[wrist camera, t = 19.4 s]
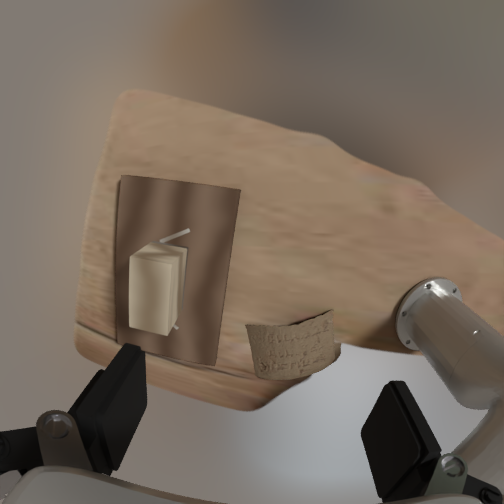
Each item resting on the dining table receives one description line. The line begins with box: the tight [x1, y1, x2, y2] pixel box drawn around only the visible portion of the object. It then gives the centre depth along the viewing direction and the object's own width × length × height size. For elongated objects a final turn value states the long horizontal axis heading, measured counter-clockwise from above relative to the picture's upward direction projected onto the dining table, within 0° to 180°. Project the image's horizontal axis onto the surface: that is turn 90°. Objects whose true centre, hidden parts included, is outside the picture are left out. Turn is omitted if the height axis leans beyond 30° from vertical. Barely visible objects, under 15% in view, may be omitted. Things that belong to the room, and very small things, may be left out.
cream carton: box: [129, 241, 189, 336], centre depth 36 cm, size 5×9×8 cm, turn 171°
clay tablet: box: [245, 310, 341, 380], centre depth 43 cm, size 14×10×3 cm
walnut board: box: [116, 175, 241, 366], centre depth 41 cm, size 16×26×2 cm, turn 171°
